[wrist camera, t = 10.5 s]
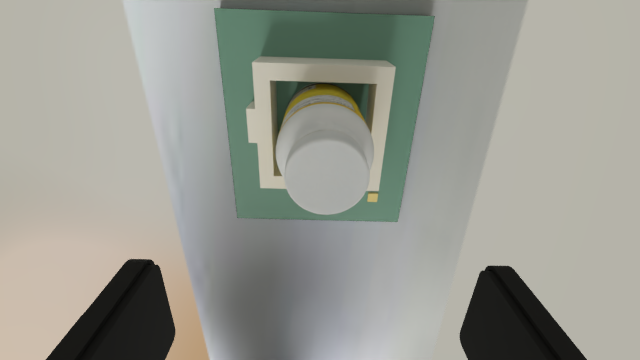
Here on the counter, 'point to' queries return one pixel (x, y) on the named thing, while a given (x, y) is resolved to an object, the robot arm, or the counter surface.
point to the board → (313, 67)
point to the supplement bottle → (324, 149)
